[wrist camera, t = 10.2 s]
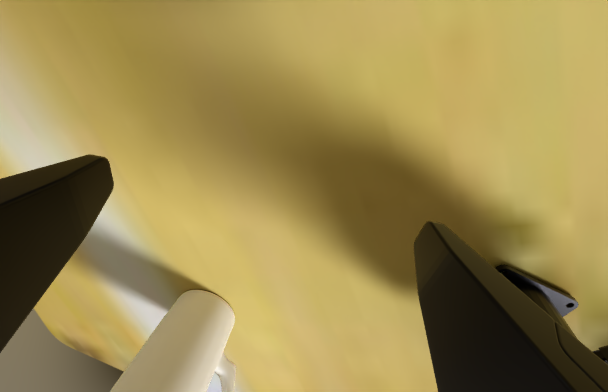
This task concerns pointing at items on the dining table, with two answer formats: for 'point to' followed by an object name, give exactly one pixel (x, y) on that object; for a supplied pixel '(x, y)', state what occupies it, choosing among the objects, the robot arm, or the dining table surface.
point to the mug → (184, 349)
